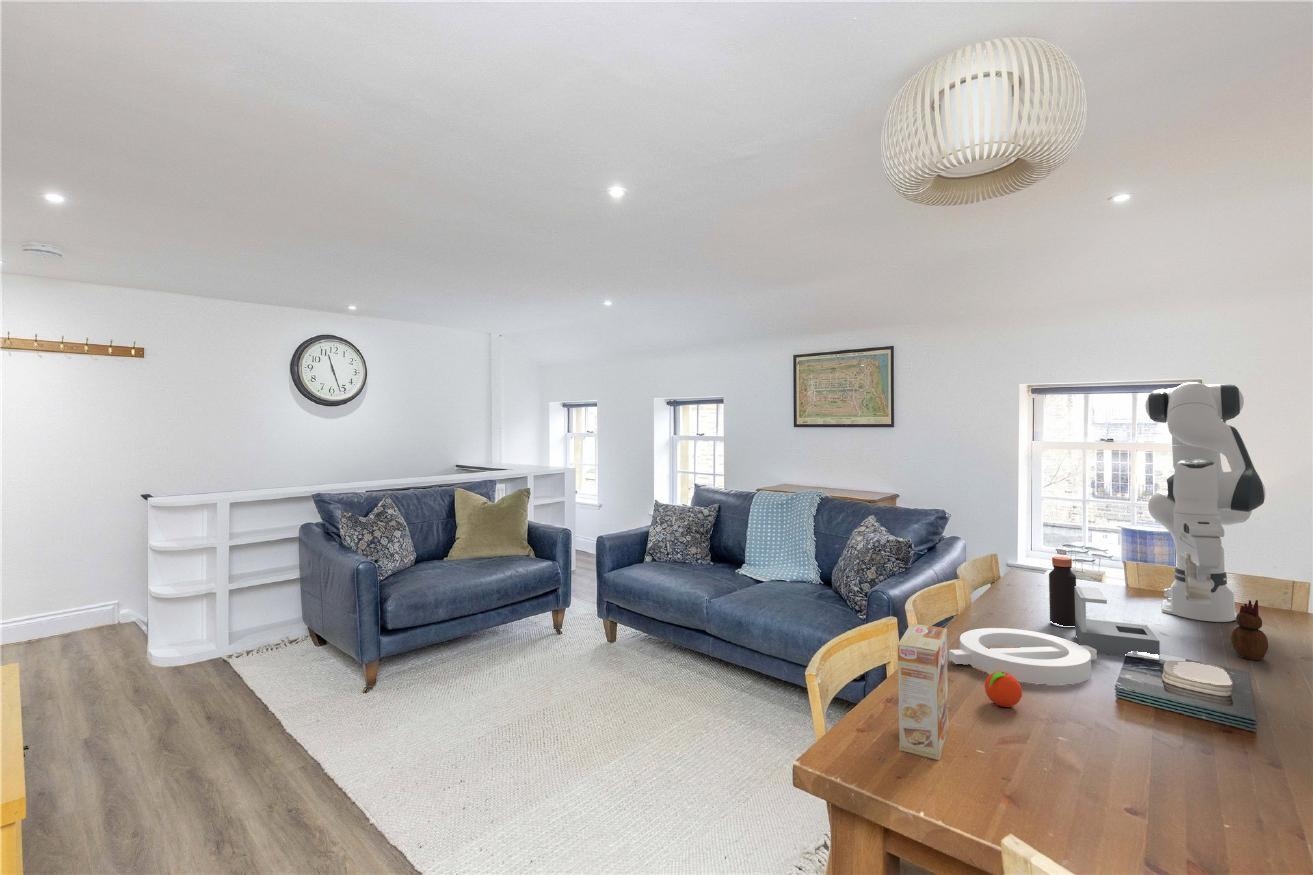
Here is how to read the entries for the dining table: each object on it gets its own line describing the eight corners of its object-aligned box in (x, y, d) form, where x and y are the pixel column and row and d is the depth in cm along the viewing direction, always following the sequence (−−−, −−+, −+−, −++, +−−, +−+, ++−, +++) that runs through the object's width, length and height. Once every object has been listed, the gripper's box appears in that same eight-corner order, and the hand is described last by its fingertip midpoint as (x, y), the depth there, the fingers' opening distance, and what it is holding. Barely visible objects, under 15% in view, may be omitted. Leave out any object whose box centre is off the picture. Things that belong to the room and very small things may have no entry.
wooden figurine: (1274, 663, 148) (1272, 602, 148) (1246, 662, 149) (1245, 601, 149) (1253, 653, 155) (1251, 595, 155) (1226, 652, 156) (1225, 594, 156)
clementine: (1006, 716, 123) (1005, 681, 123) (974, 703, 129) (973, 670, 129) (1029, 708, 127) (1029, 673, 127) (997, 695, 133) (997, 663, 133)
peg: (1185, 598, 155) (1184, 551, 155) (1206, 600, 153) (1205, 553, 153) (1190, 602, 151) (1189, 554, 151) (1211, 604, 150) (1210, 556, 150)
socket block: (1075, 635, 171) (1074, 585, 171) (1147, 643, 163) (1146, 591, 163) (1082, 650, 159) (1080, 597, 159) (1159, 660, 151) (1158, 604, 151)
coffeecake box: (940, 761, 107) (938, 650, 107) (897, 750, 110) (895, 643, 110) (950, 726, 119) (948, 627, 119) (911, 718, 123) (909, 622, 123)
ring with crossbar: (945, 666, 151) (944, 647, 151) (977, 638, 171) (977, 621, 171) (1080, 697, 132) (1080, 675, 132) (1099, 661, 152) (1098, 642, 152)
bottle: (1052, 627, 179) (1051, 559, 179) (1047, 620, 185) (1046, 555, 185) (1079, 629, 176) (1078, 560, 177) (1073, 622, 183) (1072, 556, 183)
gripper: (1169, 518, 163) (1170, 569, 163) (1191, 529, 145) (1192, 587, 145) (1200, 519, 160) (1201, 571, 160) (1227, 531, 142) (1228, 589, 142)
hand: (1197, 579), depth 152 cm, fingers closed on peg, 4 cm apart
